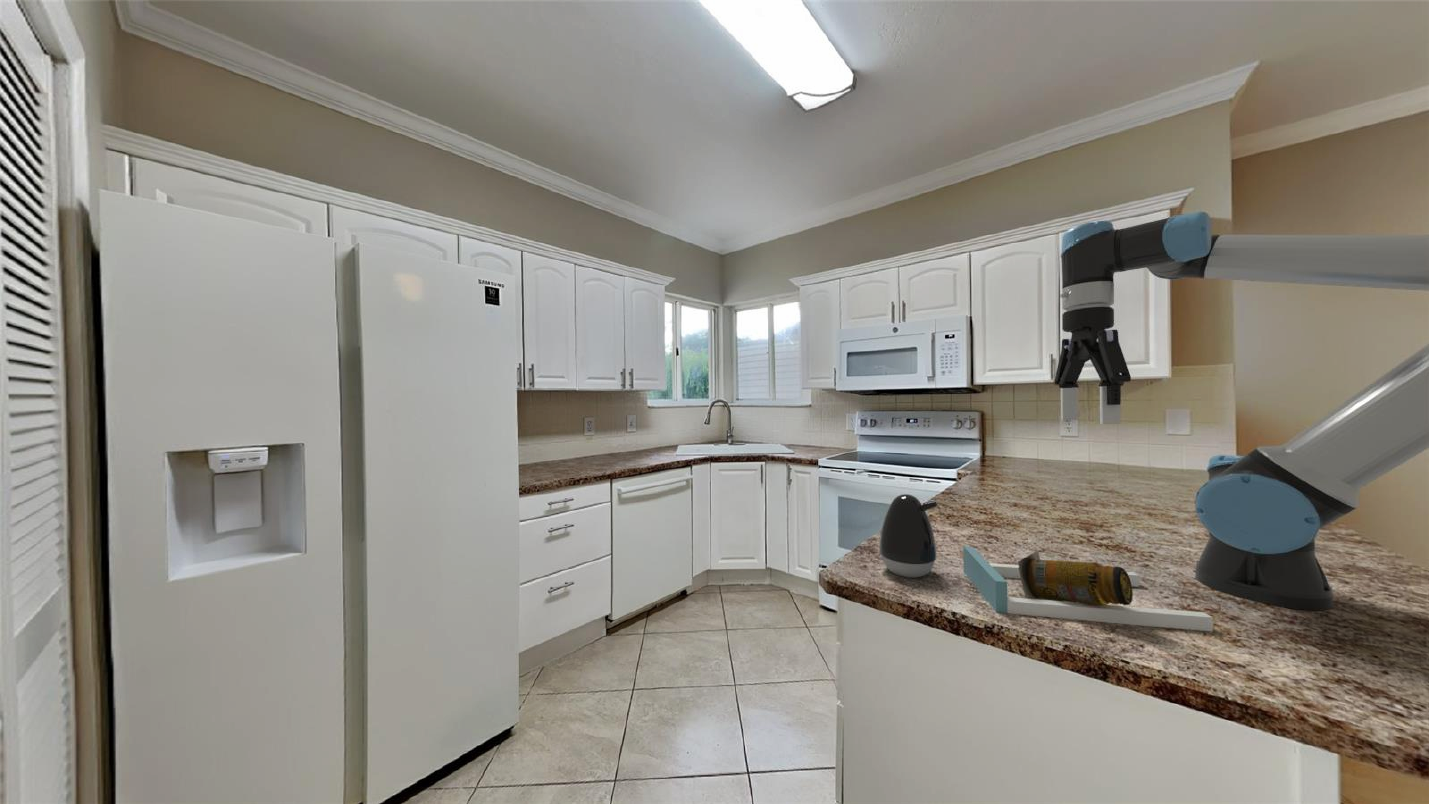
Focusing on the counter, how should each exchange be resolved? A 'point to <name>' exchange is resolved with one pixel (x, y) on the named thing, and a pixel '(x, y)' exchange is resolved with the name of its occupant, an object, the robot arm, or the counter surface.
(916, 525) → the pump dispenser
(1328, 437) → the robot arm
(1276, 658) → the counter surface
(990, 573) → the guide
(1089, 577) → the condiment
